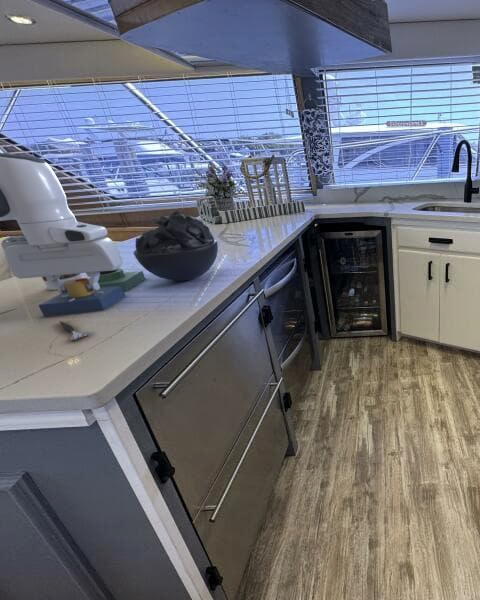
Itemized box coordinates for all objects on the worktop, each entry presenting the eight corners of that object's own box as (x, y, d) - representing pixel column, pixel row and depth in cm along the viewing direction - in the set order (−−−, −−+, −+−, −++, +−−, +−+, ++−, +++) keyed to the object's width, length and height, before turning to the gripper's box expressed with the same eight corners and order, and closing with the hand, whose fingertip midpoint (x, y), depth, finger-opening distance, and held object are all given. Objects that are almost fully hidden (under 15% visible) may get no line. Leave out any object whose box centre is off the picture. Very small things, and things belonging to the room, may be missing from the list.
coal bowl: (192, 292, 84) (169, 219, 77) (127, 290, 87) (99, 220, 80) (239, 268, 102) (224, 208, 95) (183, 268, 105) (165, 209, 98)
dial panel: (44, 316, 73) (37, 304, 72) (72, 301, 81) (66, 290, 80) (104, 310, 75) (98, 298, 74) (125, 296, 83) (121, 284, 82)
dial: (65, 298, 75) (57, 283, 73) (78, 292, 78) (71, 277, 77) (86, 296, 75) (79, 281, 74) (98, 290, 79) (92, 275, 78)
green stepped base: (75, 296, 85) (68, 280, 83) (100, 283, 94) (93, 269, 92) (127, 291, 87) (120, 275, 85) (145, 279, 96) (140, 264, 94)
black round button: (94, 276, 87) (91, 269, 86) (103, 272, 90) (100, 265, 89) (110, 274, 87) (107, 267, 86) (119, 270, 91) (116, 263, 90)
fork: (69, 321, 70) (65, 313, 70) (93, 339, 62) (89, 330, 61) (53, 326, 68) (48, 317, 68) (76, 345, 60) (71, 336, 59)
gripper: (-17, 240, 66) (17, 301, 72) (96, 232, 70) (120, 291, 75) (10, 234, 72) (40, 291, 78) (113, 227, 76) (135, 282, 81)
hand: (80, 291), depth 77 cm, fingers closed on dial, 4 cm apart
